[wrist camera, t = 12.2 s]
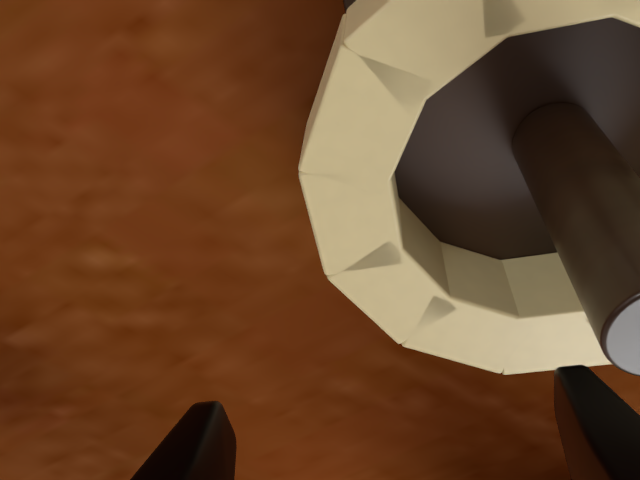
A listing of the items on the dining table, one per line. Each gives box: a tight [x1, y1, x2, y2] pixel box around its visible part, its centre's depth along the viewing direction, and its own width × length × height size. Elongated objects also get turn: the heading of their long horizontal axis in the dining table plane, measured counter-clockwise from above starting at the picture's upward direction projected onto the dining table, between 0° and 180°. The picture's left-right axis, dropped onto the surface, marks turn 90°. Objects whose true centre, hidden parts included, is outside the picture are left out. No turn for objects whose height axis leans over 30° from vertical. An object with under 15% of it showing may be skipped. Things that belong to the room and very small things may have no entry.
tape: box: [298, 0, 640, 375], centre depth 14 cm, size 11×11×2 cm
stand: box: [343, 0, 640, 376], centre depth 13 cm, size 9×9×8 cm
